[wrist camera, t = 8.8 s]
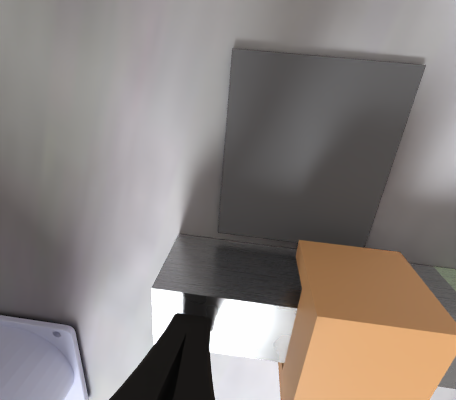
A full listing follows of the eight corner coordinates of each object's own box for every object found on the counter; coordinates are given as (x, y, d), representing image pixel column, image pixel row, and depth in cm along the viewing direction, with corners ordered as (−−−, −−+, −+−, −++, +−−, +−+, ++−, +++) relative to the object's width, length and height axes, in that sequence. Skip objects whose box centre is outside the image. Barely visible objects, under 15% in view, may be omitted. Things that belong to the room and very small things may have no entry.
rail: (178, 301, 16) (136, 416, 11) (179, 207, 14) (125, 295, 8) (520, 349, 15) (668, 505, 10) (588, 257, 13) (840, 396, 7)
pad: (218, 230, 14) (218, 232, 14) (233, 48, 11) (232, 48, 11) (361, 248, 14) (363, 250, 13) (423, 65, 10) (425, 65, 10)
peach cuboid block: (277, 342, 14) (283, 437, 10) (298, 239, 11) (317, 316, 8) (359, 354, 14) (395, 455, 10) (400, 251, 11) (467, 336, 8)
